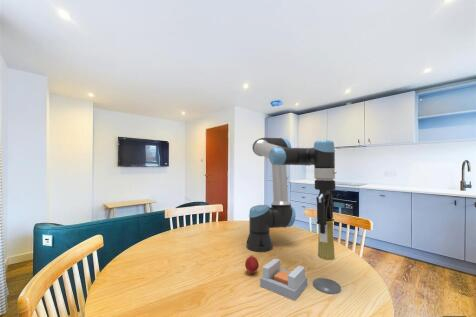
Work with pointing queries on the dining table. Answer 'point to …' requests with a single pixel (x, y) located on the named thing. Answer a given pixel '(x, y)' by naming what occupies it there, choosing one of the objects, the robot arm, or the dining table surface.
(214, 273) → the dining table surface
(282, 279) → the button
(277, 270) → the grey cradle holder
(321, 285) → the coaster
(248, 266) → the onion
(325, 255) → the vase
